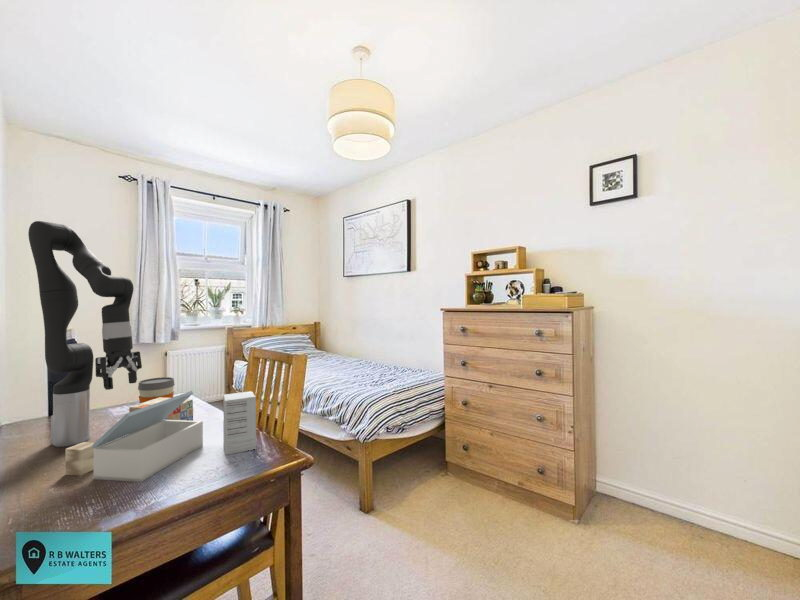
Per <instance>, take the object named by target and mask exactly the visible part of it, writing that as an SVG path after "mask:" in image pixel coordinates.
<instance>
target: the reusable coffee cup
mask: <svg viewBox="0 0 800 600" xmlns="http://www.w3.org/2000/svg"><path fill="white" fill-rule="evenodd" d="M174 386H175V379H174V377H171V376H169V377H168V376H166V377H165V376H164V377H163V376H162V377H161V376H160V377H152V378H146V379H141V380H140V381H139V382H138V385H137V390H138V391H139V396H138V401H139V404H141V403H144V402H147V401H150V400H153V399H156V398H159V397H163V398H173V397H174V394H175V392H174Z"/></svg>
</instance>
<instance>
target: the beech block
mask: <svg viewBox="0 0 800 600" xmlns="http://www.w3.org/2000/svg"><path fill="white" fill-rule="evenodd" d="M95 442H96V441H95ZM95 442H90V441H85V442H82V443H79V444H75V445H71V446H69V447H67V448H65V449H64V450H65V455H64V456H65V462H64V463H65V466H64V467H65V475H67V476H69V475H71V476H83V475H86V474H87V473H89V472H91V471H94V449H95V448H94V449H93V447H92V445H93V444H94V443H95Z"/></svg>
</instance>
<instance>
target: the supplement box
mask: <svg viewBox="0 0 800 600" xmlns="http://www.w3.org/2000/svg"><path fill="white" fill-rule="evenodd" d="M222 397H223V398H222V401H223V403H222V404H223V405H222V407H223V410H222V411H223V429H222V430H223V431H222V432H223V451H224V455H225V456H228V455H233V454H239V453H242V452H244V453H245V452H248V450H249V451H254V450H253V449H255V450H257V398H256V397H257V396H256V395H255V394H254V392H253V391H243V392H234V393H233V392H232V393H227V394H223V396H222Z"/></svg>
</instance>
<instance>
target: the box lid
mask: <svg viewBox="0 0 800 600" xmlns="http://www.w3.org/2000/svg"><path fill="white" fill-rule="evenodd" d="M193 394H194V392H193V390H190V391H188V392H185V393H182V394H178V395H176V396H173V398H170V399H167V400H164V401H161V402H158V403H155V404H152V405H150V406H147V407H144V408H141V409H138V410H135V411H132V412H127V413H126V414H125V415H123V416H122V418H120V419H119V420H118V421H117V422H116V423H114V425H112V427H110V428H109V429H108V430H107V431H106V432H105V433H104V434H103V435H101V436H100V437H99V438H98V439H97V440H96V441H95V443H94V444H93V445H92V447H93V449H94V448H97V447H100V446H102V445H105V444H107V443H109V442H112V441H114V440H117V439H119V438H121V437H124V436H126V435H129V434H130V433H133V432H135V431H137V430H140V429H142V428H145V427H147V426H149V425H152V424H154V423H157V422H159V421H162V420H164V419H165V418H166V417H167V416H169V415H170V414H171V413H172V412H173V411H174V410H175V409H176V408H177V407H179V406H180V405H181V404H182V403H183V402H184V401H185V400H186V399H190V397H191V396H192V395H193Z"/></svg>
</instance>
